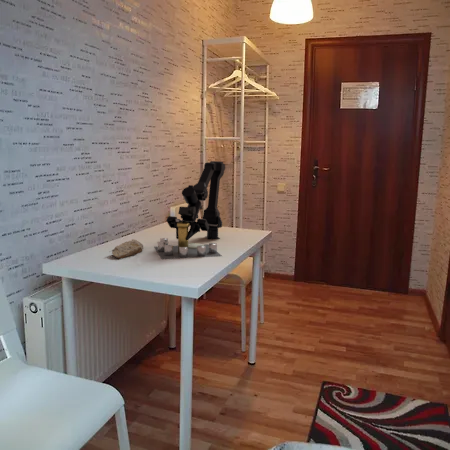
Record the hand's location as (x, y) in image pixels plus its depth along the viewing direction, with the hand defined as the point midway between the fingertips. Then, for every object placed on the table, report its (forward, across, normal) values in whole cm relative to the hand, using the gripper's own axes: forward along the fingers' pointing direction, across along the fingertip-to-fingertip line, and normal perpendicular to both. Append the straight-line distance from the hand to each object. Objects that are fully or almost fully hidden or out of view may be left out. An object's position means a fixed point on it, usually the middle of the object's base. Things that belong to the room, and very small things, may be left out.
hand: (181, 239), depth 193 cm
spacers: (+4, 0, +5) cm, 6 cm away
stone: (+12, -21, -2) cm, 24 cm away
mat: (+2, +1, +7) cm, 8 cm away
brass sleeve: (+3, 0, +5) cm, 6 cm away
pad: (-5, 0, +14) cm, 15 cm away
